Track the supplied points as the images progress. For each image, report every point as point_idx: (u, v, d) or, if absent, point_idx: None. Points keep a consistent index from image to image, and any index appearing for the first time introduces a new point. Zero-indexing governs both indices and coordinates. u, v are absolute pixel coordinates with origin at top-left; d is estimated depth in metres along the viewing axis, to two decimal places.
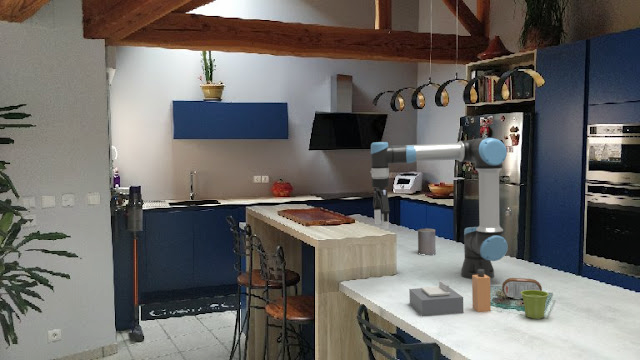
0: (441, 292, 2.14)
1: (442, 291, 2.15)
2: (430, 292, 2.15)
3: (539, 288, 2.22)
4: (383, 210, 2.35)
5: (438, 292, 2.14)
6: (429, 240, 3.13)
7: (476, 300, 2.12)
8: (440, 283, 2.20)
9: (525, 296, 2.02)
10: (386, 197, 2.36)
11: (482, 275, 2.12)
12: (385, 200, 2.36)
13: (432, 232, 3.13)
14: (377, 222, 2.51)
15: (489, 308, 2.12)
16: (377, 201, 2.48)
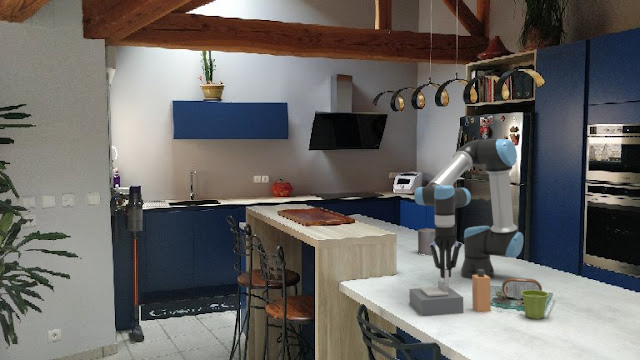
0: (440, 292, 2.14)
1: (441, 291, 2.15)
2: (429, 292, 2.15)
3: (539, 288, 2.22)
4: None
5: (437, 292, 2.14)
6: (429, 240, 3.13)
7: (476, 300, 2.12)
8: (439, 283, 2.20)
9: (525, 296, 2.02)
10: (433, 252, 2.16)
11: (482, 275, 2.12)
12: (433, 255, 2.16)
13: (432, 232, 3.13)
14: (445, 283, 2.18)
15: (489, 308, 2.12)
16: (446, 254, 2.18)
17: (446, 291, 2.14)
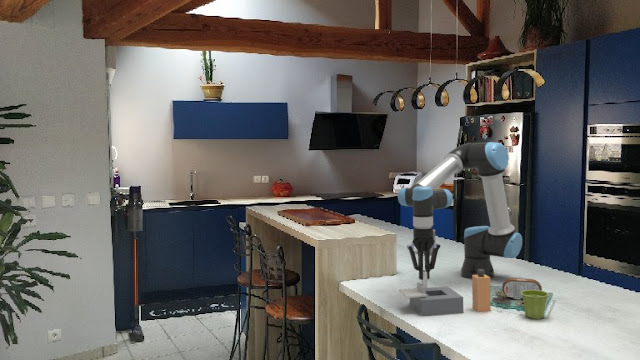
0: (418, 294, 2.13)
1: (419, 293, 2.14)
2: (407, 294, 2.13)
3: (539, 288, 2.22)
4: None
5: (415, 294, 2.13)
6: None
7: (476, 300, 2.12)
8: (417, 285, 2.19)
9: (525, 296, 2.02)
10: (411, 254, 2.15)
11: (482, 275, 2.12)
12: (411, 257, 2.15)
13: None
14: None
15: (489, 308, 2.12)
16: (425, 256, 2.17)
17: (424, 293, 2.13)
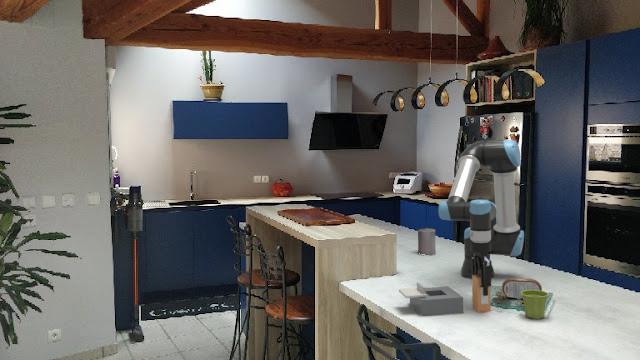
0: (418, 294, 2.13)
1: (419, 293, 2.14)
2: (407, 294, 2.13)
3: (539, 288, 2.22)
4: (484, 283, 2.08)
5: (415, 294, 2.13)
6: (429, 240, 3.13)
7: (476, 300, 2.12)
8: (417, 285, 2.19)
9: (525, 296, 2.02)
10: (489, 269, 2.07)
11: None
12: (488, 272, 2.07)
13: (432, 232, 3.13)
14: None
15: (489, 308, 2.12)
16: (477, 269, 2.15)
17: (424, 293, 2.13)
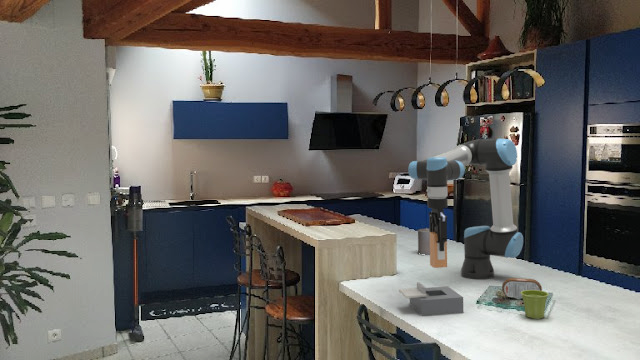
0: (418, 294, 2.13)
1: (419, 293, 2.14)
2: (407, 294, 2.13)
3: (539, 288, 2.22)
4: (440, 238, 2.10)
5: (415, 294, 2.13)
6: (429, 240, 3.13)
7: (433, 256, 2.15)
8: (417, 285, 2.19)
9: (525, 296, 2.02)
10: (445, 224, 2.09)
11: None
12: (443, 228, 2.09)
13: None
14: None
15: (446, 264, 2.14)
16: (434, 226, 2.17)
17: (424, 293, 2.13)
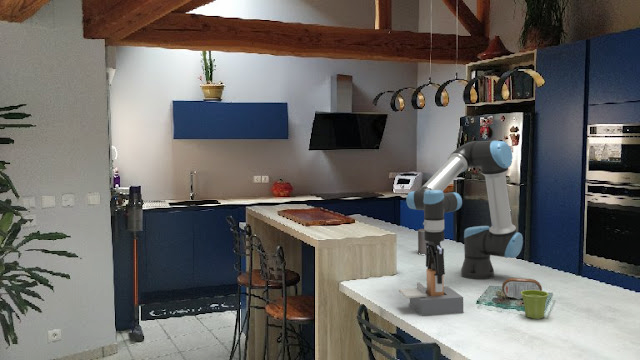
0: (418, 294, 2.13)
1: (419, 293, 2.14)
2: (407, 294, 2.13)
3: (539, 288, 2.22)
4: (437, 271, 2.10)
5: (415, 294, 2.13)
6: None
7: (430, 293, 2.16)
8: (417, 285, 2.19)
9: (525, 296, 2.02)
10: (442, 257, 2.10)
11: None
12: (441, 260, 2.10)
13: None
14: None
15: None
16: (431, 258, 2.19)
17: (424, 293, 2.13)
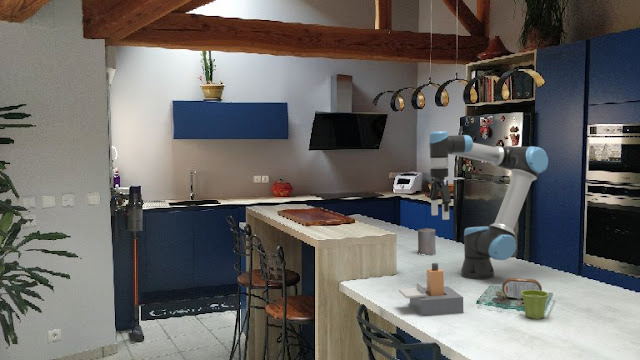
0: (418, 294, 2.13)
1: (419, 293, 2.14)
2: (407, 294, 2.13)
3: (539, 288, 2.22)
4: (444, 200, 2.31)
5: (415, 294, 2.13)
6: (429, 240, 3.13)
7: (430, 293, 2.16)
8: (417, 285, 2.19)
9: (525, 296, 2.02)
10: (447, 187, 2.33)
11: (436, 269, 2.16)
12: (446, 190, 2.32)
13: (432, 232, 3.13)
14: (434, 213, 2.47)
15: None
16: (435, 191, 2.44)
17: (424, 293, 2.13)
